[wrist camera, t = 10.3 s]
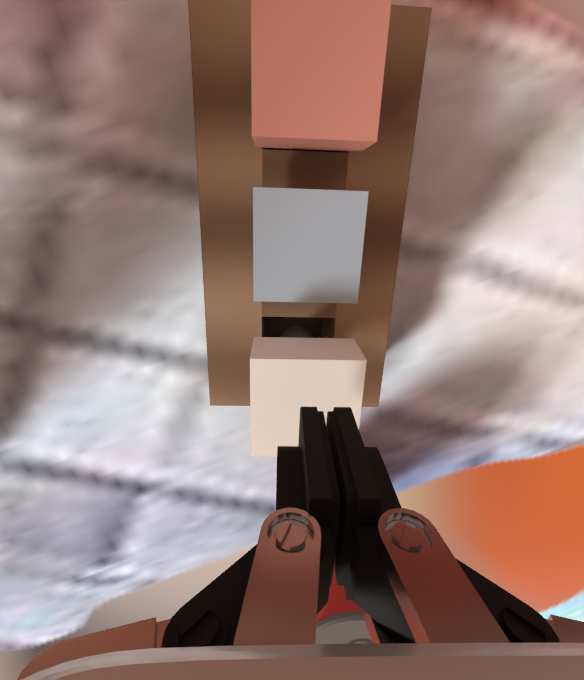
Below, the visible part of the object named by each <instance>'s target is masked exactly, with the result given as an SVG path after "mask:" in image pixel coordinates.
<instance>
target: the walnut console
mask: <svg viewBox="0 0 584 680" xmlns="http://www.w3.org/2000/svg"><path fill="white" fill-rule="evenodd" d="M188 4H189V22H190V41H191V59H192V78H193V96H194V115H195V133H196V152H197V170H198V189H199V207H200V226H201V244H202V263H203V281H204V300H205V318H206V337H207V356H208V374H209V393H210V405H217V406H250V355H251V349H252V344H253V338H254V337H264V323H265V317H313V318H323V320H322V336H321V338H348V339H354V340H355V341H356V343H357V345H358V346H359V348H360V350H361V352H362V353H363V355H364V357H365V358H366V360H367V363H366V372H365V380H364V389H363V398H362V406H361V407H378V405H379V397H380V390H381V382H382V375H383V368H384V360H385V353H386V345H387V338H388V330H389V323H390V315H391V308H392V300H393V293H394V285H395V278H396V270H397V263H398V255H399V248H400V241H401V233H402V226H403V218H404V211H405V203H406V196H407V188H408V181H409V173H410V166H411V158H412V151H413V143H414V136H415V129H416V121H417V114H418V106H419V99H420V91H421V84H422V76H423V69H424V61H425V54H426V46H427V39H428V31H429V24H430V17H431V9H432V8H427V7H411V6H396V5H391V10H390V20H389V29H388V39H387V49H386V59H385V69H384V78H383V88H382V98H381V108H380V118H379V127H378V137H377V142H376V143H374V144H373V145H371V146H370V147H368V148H367V149H365V150H364V151H362V152H357V151H334V152H314V151H291V150H268V149H266V148H264V147H255V144H254V141H253V138H252V99H251V0H188ZM253 187H267V188H293V189H320V190H347V191H369V193H368V203H367V213H366V223H365V233H364V243H363V254H362V264H361V274H360V284H359V294H358V304H356V303H310V302H264V301H253Z"/></svg>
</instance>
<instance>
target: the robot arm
mask: <svg viewBox="0 0 584 680" xmlns="http://www.w3.org/2000/svg"><path fill="white" fill-rule="evenodd" d="M333 569H335V576H336V582H337V585H338V586H344V590H345V596H346V600H353V601H354V602H355V603H356V604H357V605H358V606H359V607H360V608H362V609H363V610H364V611H365V612H364V617H365V622H366V626H367V629H368V632H369V635H370V638H371V641H372V644H315V641H316V622H317V614H318V613H319V612H320V611H321V610H322V608H323V607H324V606H325V605H326V604H327V602H328V599H329V590H330V586H331V585H332V579H333ZM17 680H584V622H581V621H577V620H572V619H568V618H563V617H559V616H555V615H550V617H549V619H544V618H543V617H542V616H541V615H540V614H539V613H538V612H536V611H535V610H534V609H533V608H531V607H530V606H529V605H527V604H526V603H524V602H522V601H521V600H519V599H518V598H516V597H515V596H513V595H512V594H510V593H508V592H507V591H505V590H504V589H502V588H501V587H499V586H498V585H496V584H494V583H493V582H491V581H490V580H488V579H486V578H485V577H484V576H482V575H480V574H479V573H477V572H476V571H474V570H473V569H471V568H470V567H468V566H467V565H465V564H463V563H462V562H460V561H459V560H457V559H456V558H455V557H454V556H453V554H452V553H451V551H450V550H449V548H448V546H447V545H446V543H445V542H444V540H443V539H442V537H441V536H440V534H439V533H438V531H437V529H436V528H435V527H434V526H433V524H432V523H431V522H430V521H429V520H428V519H427V518H425V517H424V516H423V515H421V514H419V513H417V512H415V511H412V510H409V509H405V508H401V506H400V503H399V501H398V498H397V495H396V493H395V490H394V488H393V485H392V483H391V480H390V478H389V475H388V473H387V470H386V468H385V465H384V463H383V460H382V458H381V455H380V453H379V450H378V449H377V448H376V447H364V444H363V441H362V438H361V435H360V432H359V429H358V427H357V424H356V421H355V418H354V415H353V412H352V409H351V407H334V409H333V411H328V412H327V422H325V417H324V413H323V411H318V410H317V407H300V421H299V443H298V446H277V491H276V511H275V512H273V513H271V514H270V515H269V516H268V517H267V518H266V519H265V520H264V523H263V525H262V527H261V531H260V535H259V539H258V544H257V545H256V546H254V547H253V548H252V549H251V550H250V551H248V552H247V553H246V554H245V555H244V556H243V557H241V558H240V559H239V560H238V561H236V562H235V563H234V564H233V565H232V566H230V567H229V568H228V569H227V570H226V571H225V572H223V573H222V574H221V575H220V576H218V577H217V578H216V579H215V580H214V581H212V582H211V583H210V584H209V585H208V586H206V587H205V588H204V589H203V590H202V591H200V592H199V593H198V594H197V595H196V596H194V598H192V599H191V600H190V601H189V602H187V603H186V604H185V605H184V606H182V607H181V608H180V609H179V611H177V613H176V614H175V615H174V616H173V617H172V618H171V619H169V620H164V621H160V622H156V617H155V618H151V619H147V620H143V621H139V622H135V623H131V624H127V625H123V626H119V627H115V628H111V629H107V630H103V631H99V632H95V633H91V634H87V635H83V636H79V637H75V638H71V639H67V640H63V641H60V642H58V643H56V644H53V645H51V646H49V647H47V648H46V649H44V650H43V651H42V652H40V653H39V654H38V655H36V656H35V657H34V658H33V659H32V660H31V661H30V662H29V664H28V665H27V666H26V667H25V668H24V669H23V671H22V672H21V673H20V676H19V677H18V679H17Z"/></svg>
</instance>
